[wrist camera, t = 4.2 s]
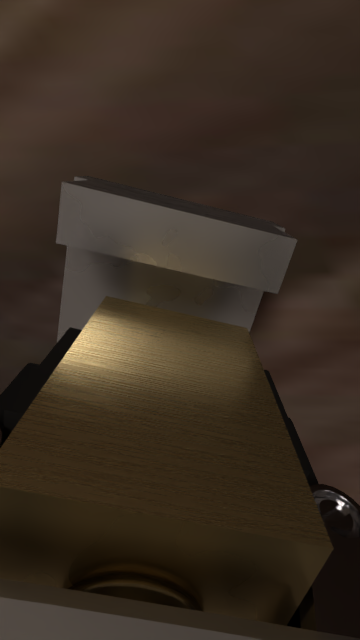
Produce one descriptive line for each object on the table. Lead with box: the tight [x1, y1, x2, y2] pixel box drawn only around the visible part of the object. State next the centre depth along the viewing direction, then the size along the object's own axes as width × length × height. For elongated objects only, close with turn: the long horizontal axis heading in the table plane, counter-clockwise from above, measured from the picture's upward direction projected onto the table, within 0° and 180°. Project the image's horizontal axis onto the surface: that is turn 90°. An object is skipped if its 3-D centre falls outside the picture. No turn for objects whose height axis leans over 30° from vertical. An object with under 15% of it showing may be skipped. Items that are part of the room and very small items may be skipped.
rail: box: [56, 176, 297, 343], centre depth 17 cm, size 8×26×5 cm, turn 167°
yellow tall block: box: [0, 296, 334, 626], centre depth 8 cm, size 4×4×7 cm
